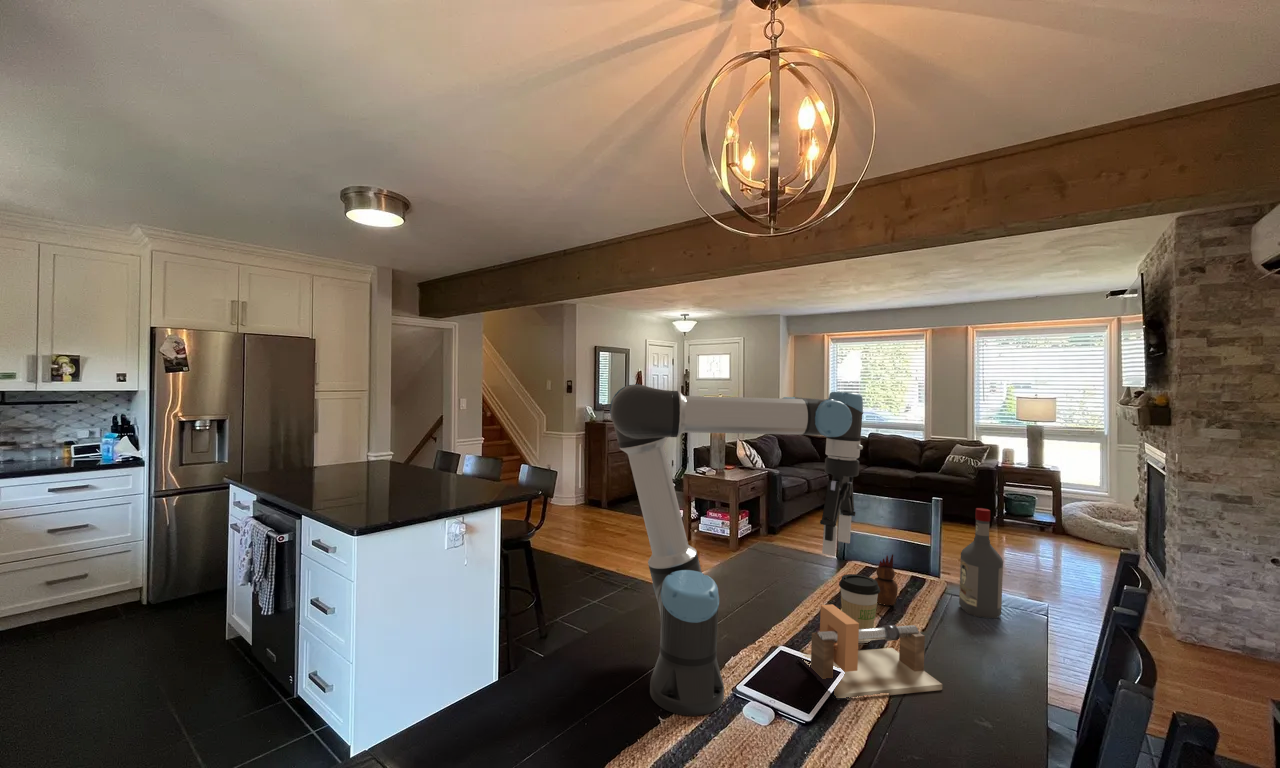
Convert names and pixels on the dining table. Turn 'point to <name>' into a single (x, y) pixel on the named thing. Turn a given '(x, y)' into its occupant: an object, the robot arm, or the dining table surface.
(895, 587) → the wooden figurine
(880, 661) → the wooden rod stand
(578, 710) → the dining table surface
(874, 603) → the coffee cup
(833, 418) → the robot arm
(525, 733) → the dining table surface
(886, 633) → the pipe
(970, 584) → the liquor
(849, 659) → the orange square ring
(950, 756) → the dining table surface
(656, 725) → the dining table surface
